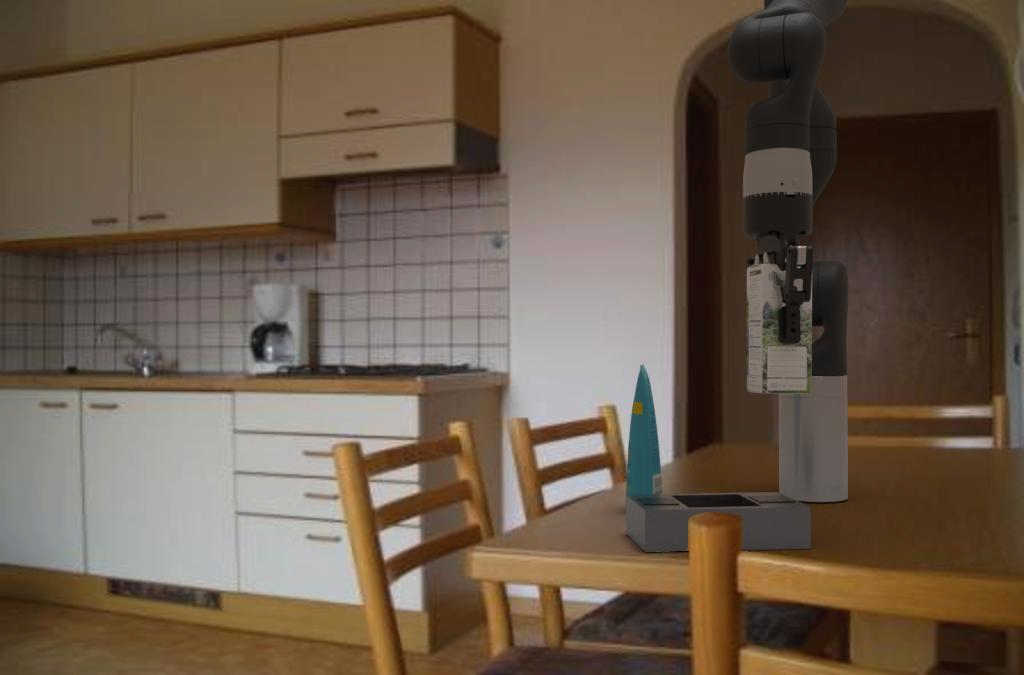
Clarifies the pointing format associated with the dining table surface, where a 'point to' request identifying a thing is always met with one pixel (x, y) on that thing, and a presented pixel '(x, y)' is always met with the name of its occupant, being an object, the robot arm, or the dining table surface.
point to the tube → (643, 442)
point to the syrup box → (775, 339)
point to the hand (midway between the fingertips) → (778, 343)
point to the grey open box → (763, 513)
